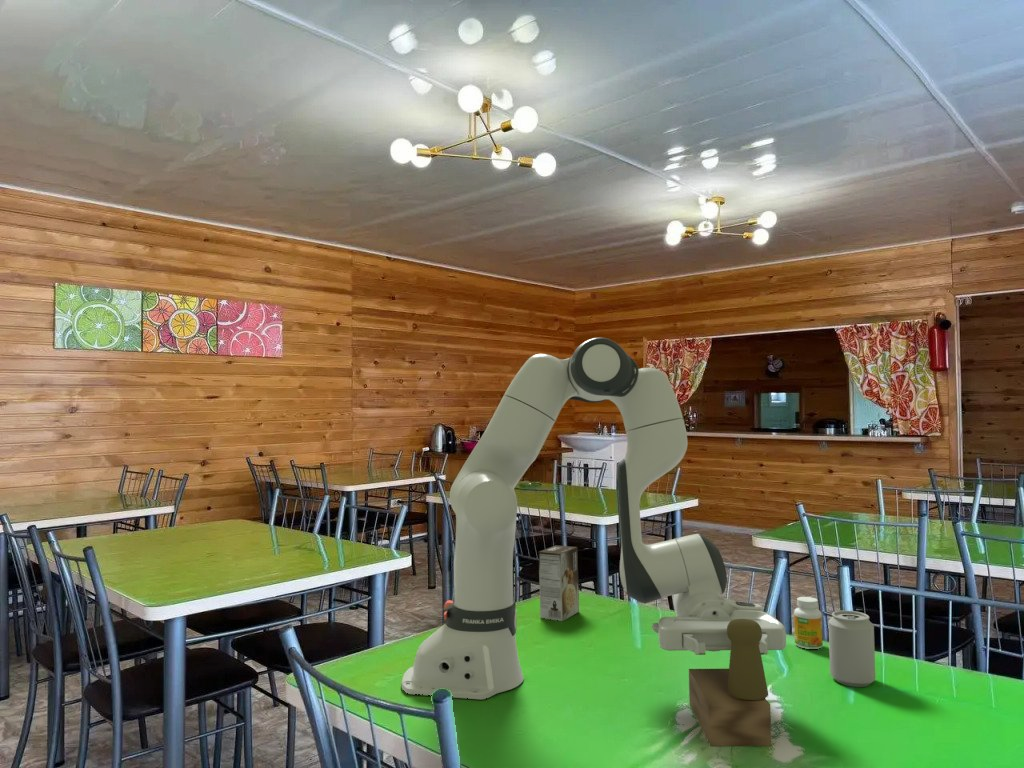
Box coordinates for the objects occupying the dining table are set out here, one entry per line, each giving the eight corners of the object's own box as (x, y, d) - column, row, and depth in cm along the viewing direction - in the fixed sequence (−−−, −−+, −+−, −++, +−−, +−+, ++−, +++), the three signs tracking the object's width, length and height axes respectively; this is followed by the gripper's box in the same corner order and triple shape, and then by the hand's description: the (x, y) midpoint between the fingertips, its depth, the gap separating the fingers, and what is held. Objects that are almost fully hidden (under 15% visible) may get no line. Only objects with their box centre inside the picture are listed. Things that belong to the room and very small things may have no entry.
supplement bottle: (794, 649, 150) (793, 601, 151) (795, 641, 155) (793, 594, 156) (823, 651, 148) (821, 603, 149) (822, 643, 153) (821, 596, 154)
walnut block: (710, 745, 109) (709, 704, 109) (689, 704, 124) (688, 668, 124) (771, 745, 108) (770, 704, 109) (743, 704, 123) (742, 668, 123)
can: (875, 676, 135) (872, 610, 135) (876, 691, 128) (873, 621, 128) (830, 670, 138) (828, 606, 138) (829, 685, 131) (827, 617, 131)
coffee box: (556, 608, 183) (555, 544, 184) (579, 612, 180) (578, 546, 181) (539, 618, 176) (538, 551, 176) (563, 622, 172) (561, 553, 173)
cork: (769, 701, 109) (765, 626, 110) (727, 698, 111) (723, 624, 111) (767, 687, 115) (763, 615, 116) (727, 684, 117) (723, 614, 117)
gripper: (649, 604, 127) (663, 629, 113) (769, 604, 126) (797, 628, 112) (650, 641, 127) (664, 670, 113) (770, 641, 126) (798, 670, 112)
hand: (731, 649), depth 113 cm, fingers open, 8 cm apart
